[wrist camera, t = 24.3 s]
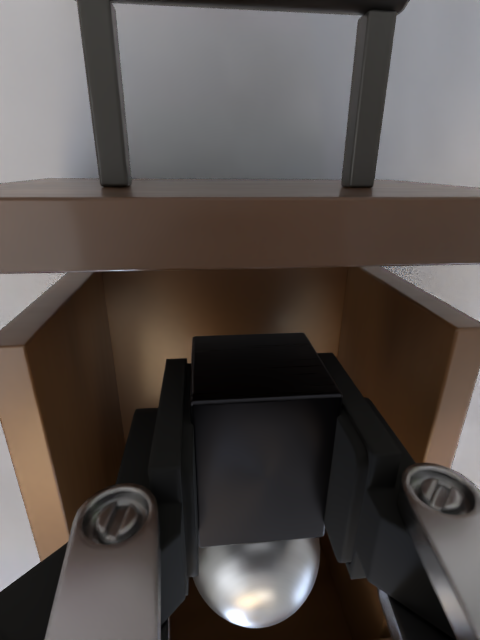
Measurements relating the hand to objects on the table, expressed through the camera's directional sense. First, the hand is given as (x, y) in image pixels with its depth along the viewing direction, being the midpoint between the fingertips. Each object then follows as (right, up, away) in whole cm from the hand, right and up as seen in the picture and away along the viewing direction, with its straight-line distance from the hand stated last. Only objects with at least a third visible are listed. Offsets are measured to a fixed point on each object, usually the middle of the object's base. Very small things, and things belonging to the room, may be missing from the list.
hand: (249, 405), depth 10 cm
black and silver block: (0, -2, +1) cm, 2 cm away
